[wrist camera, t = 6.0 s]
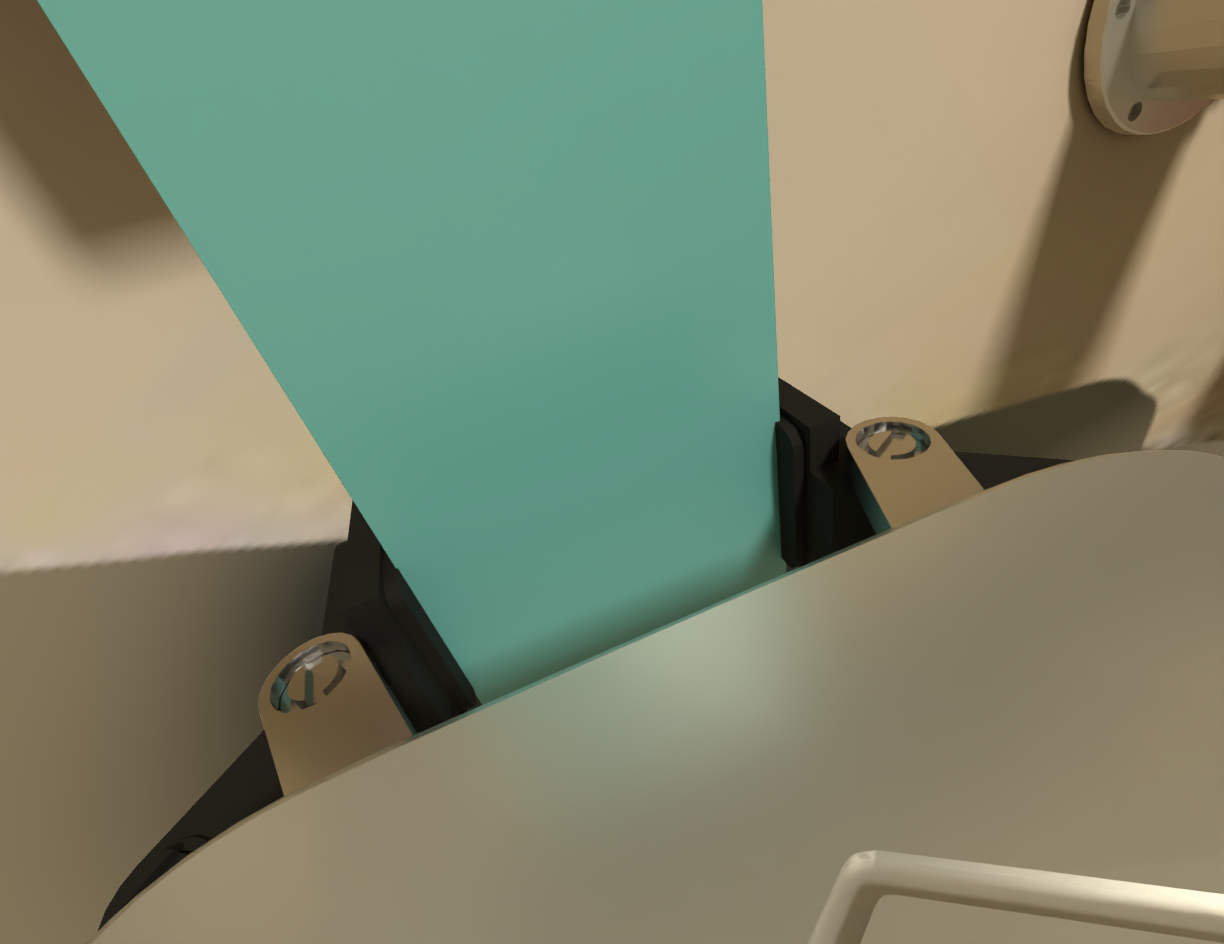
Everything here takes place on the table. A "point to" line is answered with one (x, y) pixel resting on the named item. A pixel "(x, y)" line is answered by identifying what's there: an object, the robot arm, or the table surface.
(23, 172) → the table surface
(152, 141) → the teal flat plank
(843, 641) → the robot arm
